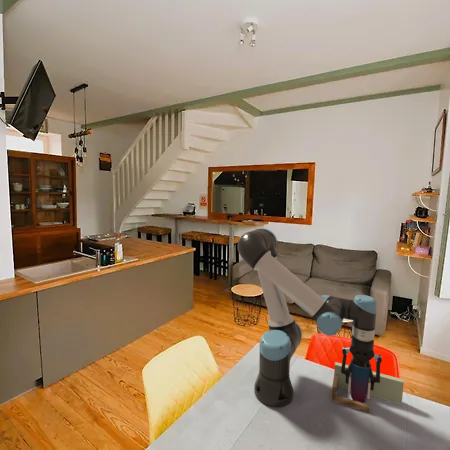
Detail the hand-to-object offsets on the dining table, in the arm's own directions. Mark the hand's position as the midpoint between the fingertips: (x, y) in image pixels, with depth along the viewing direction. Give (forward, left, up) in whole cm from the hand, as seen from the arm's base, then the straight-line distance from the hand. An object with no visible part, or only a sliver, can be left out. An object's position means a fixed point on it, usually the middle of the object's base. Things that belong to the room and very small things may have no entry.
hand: (358, 393), depth 108 cm
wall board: (+3, +5, -2) cm, 6 cm away
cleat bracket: (-3, -1, -2) cm, 3 cm away
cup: (0, 0, -2) cm, 2 cm away
